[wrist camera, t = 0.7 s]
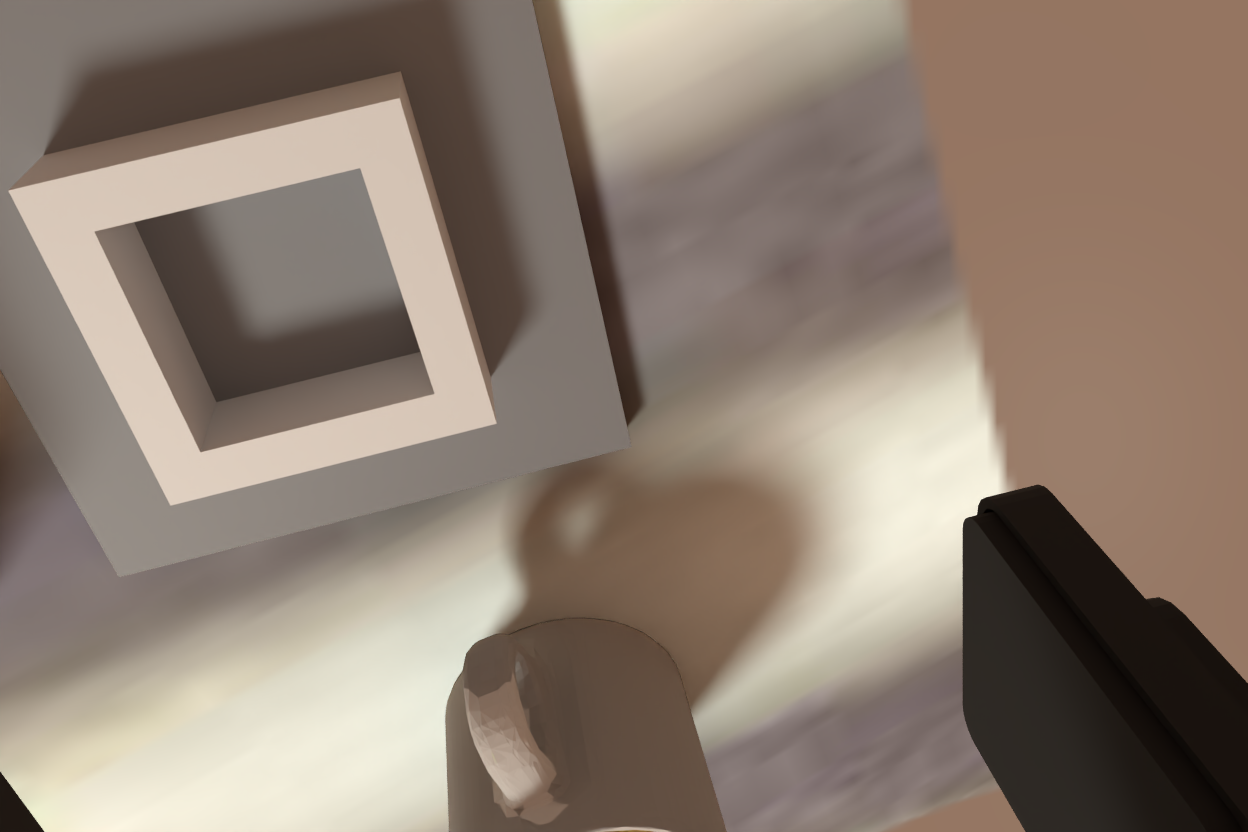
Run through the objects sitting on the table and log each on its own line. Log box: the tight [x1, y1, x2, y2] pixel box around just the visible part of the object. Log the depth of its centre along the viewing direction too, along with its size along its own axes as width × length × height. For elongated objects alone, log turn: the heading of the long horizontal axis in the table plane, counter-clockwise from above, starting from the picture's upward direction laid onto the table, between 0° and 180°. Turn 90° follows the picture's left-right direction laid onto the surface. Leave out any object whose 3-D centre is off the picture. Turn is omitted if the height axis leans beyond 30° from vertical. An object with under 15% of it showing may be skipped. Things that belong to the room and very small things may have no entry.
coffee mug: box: [445, 618, 727, 832], centre depth 40 cm, size 13×10×10 cm
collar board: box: [0, 0, 631, 577], centre depth 32 cm, size 18×18×4 cm
